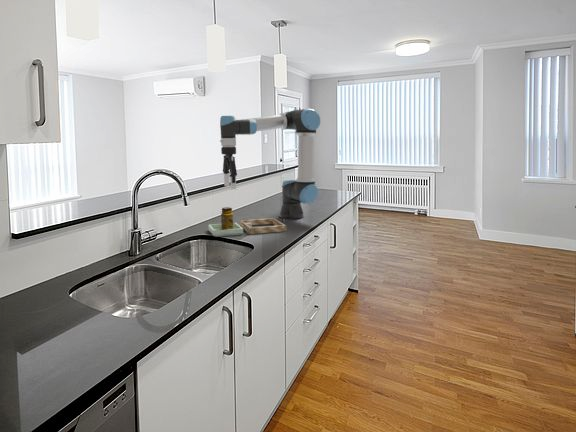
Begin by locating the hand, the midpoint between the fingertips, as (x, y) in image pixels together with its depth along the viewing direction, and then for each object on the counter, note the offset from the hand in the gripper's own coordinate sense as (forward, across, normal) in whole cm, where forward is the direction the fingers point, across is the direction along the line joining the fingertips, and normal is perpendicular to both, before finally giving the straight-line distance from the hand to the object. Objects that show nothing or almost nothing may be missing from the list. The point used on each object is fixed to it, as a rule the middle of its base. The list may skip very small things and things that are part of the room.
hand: (230, 187), depth 213 cm
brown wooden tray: (+23, +2, +17) cm, 29 cm away
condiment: (+22, +4, -4) cm, 23 cm away
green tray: (+23, +4, -4) cm, 24 cm away
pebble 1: (+23, -4, +10) cm, 26 cm away
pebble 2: (+24, +8, +23) cm, 34 cm away
